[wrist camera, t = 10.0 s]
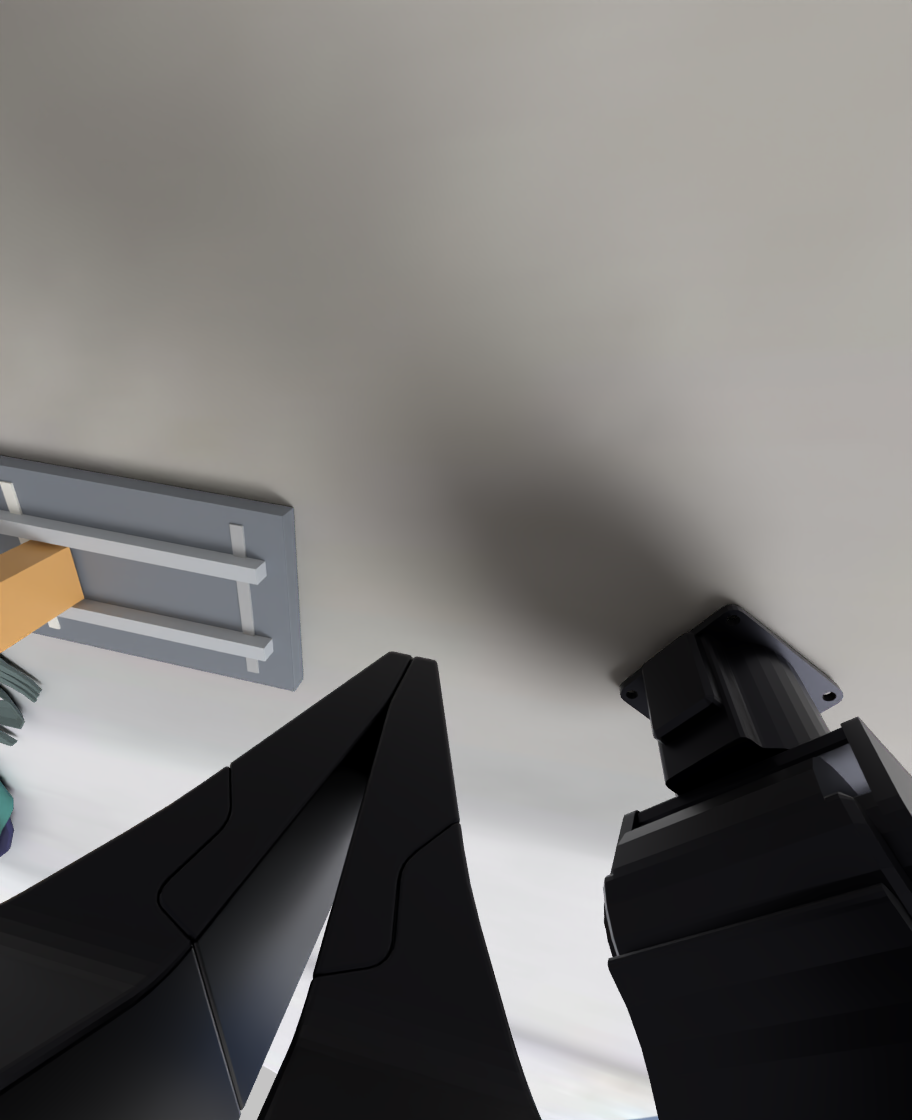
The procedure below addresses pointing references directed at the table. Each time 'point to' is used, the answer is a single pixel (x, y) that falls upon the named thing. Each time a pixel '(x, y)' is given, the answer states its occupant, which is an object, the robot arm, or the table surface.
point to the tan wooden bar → (35, 588)
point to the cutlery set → (11, 716)
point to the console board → (165, 569)
